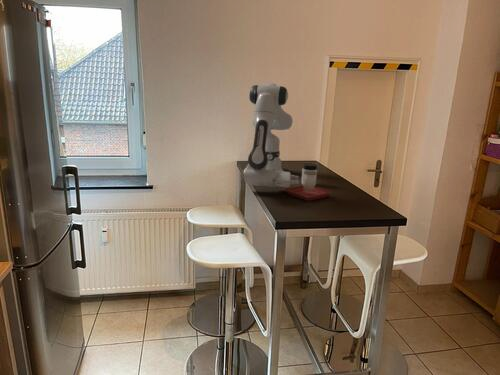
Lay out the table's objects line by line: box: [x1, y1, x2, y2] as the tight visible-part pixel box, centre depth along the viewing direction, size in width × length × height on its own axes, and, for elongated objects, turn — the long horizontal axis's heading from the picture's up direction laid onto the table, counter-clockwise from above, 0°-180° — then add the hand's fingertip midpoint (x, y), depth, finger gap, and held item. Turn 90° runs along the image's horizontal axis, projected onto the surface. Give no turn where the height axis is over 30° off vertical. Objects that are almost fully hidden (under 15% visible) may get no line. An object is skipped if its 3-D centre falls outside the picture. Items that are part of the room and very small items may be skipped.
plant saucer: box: [284, 185, 332, 202], centre depth 209 cm, size 18×18×3 cm
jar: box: [300, 162, 318, 186], centre depth 231 cm, size 9×8×12 cm
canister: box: [302, 171, 317, 192], centre depth 208 cm, size 6×6×10 cm
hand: (299, 180), depth 208 cm, fingers open, 8 cm apart
